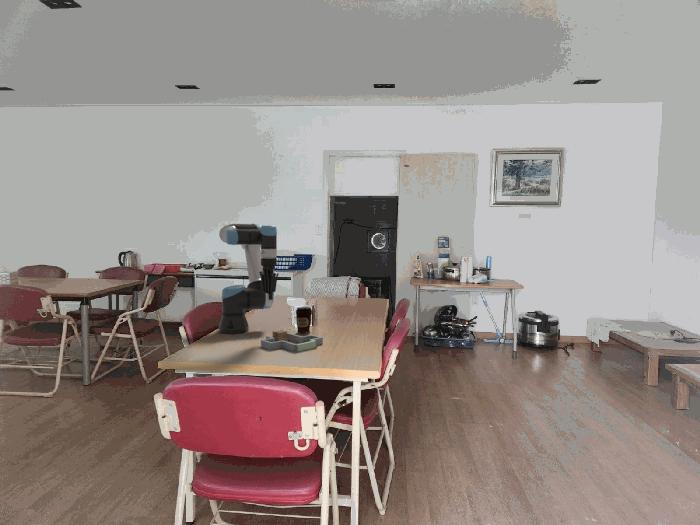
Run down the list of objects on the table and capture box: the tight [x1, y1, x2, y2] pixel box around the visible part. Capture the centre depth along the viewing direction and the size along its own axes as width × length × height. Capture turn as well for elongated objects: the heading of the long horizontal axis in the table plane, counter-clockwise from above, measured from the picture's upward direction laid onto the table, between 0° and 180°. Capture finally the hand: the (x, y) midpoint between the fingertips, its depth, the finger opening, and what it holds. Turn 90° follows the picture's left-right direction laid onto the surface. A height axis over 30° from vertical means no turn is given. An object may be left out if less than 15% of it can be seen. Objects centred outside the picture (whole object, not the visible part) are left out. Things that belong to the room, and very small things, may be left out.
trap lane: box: [260, 332, 324, 353], centre depth 220 cm, size 23×24×3 cm
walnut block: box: [272, 329, 288, 342], centre depth 226 cm, size 5×5×5 cm
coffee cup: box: [295, 306, 313, 335], centre depth 244 cm, size 9×8×13 cm
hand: (269, 306), depth 231 cm, fingers closed
